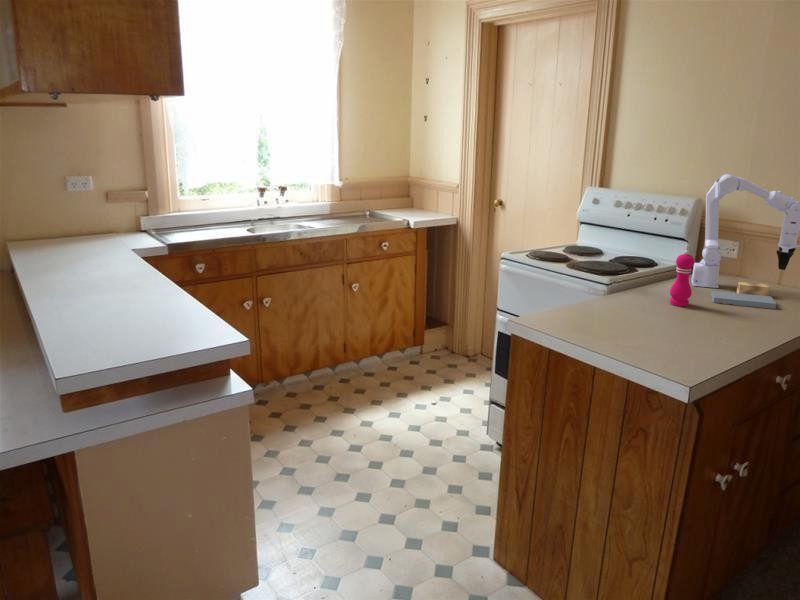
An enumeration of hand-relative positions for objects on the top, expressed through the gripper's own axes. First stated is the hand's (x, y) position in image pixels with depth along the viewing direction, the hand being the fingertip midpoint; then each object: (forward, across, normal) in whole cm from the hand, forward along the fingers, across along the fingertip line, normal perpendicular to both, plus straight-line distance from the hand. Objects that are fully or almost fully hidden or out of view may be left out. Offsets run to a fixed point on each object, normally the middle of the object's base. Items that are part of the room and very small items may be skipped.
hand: (782, 267), depth 243 cm
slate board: (+10, -25, +9) cm, 28 cm away
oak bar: (+10, -11, +8) cm, 17 cm away
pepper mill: (+10, -42, +28) cm, 51 cm away
